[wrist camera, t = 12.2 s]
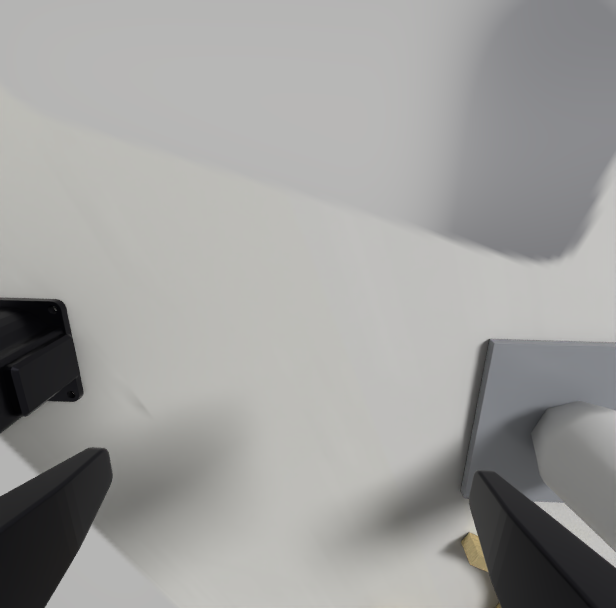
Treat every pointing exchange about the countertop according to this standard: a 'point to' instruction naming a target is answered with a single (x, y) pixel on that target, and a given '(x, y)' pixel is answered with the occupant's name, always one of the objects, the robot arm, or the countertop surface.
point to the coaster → (532, 403)
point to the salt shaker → (581, 462)
